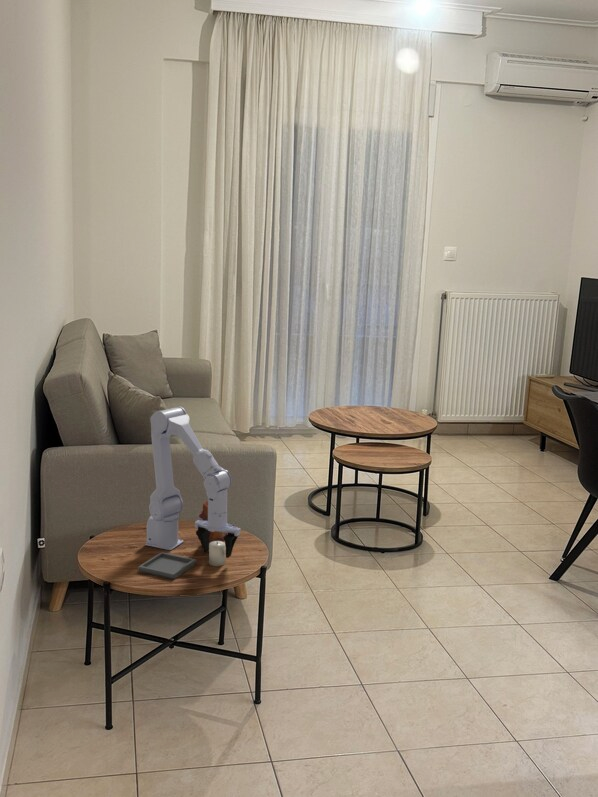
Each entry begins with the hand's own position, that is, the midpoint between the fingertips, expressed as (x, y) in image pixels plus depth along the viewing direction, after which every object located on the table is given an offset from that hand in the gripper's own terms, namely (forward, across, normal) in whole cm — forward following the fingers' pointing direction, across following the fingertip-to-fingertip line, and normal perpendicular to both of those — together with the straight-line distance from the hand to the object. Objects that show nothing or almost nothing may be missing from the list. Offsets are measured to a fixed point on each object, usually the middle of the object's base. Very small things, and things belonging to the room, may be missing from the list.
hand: (217, 554), depth 241 cm
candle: (+3, 0, 0) cm, 3 cm away
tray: (+3, -11, -10) cm, 15 cm away
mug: (+3, -8, +13) cm, 16 cm away
